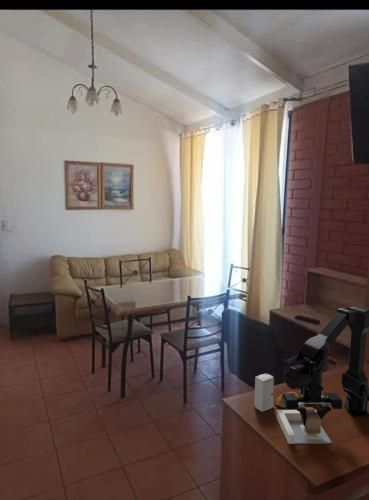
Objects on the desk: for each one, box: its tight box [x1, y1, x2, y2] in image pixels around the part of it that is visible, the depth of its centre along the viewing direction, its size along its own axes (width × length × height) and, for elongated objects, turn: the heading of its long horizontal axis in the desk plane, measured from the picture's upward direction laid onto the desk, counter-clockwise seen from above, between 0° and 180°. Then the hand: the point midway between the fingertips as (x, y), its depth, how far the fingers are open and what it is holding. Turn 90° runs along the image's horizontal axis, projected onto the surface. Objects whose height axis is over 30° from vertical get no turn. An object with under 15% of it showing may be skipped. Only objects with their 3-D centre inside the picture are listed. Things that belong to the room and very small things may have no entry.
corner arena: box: [276, 409, 333, 445], centre depth 121 cm, size 14×14×3 cm
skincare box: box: [254, 373, 275, 413], centre depth 134 cm, size 6×4×12 cm
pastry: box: [274, 391, 299, 408], centre depth 137 cm, size 9×7×4 cm
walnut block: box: [301, 406, 322, 434], centre depth 119 cm, size 7×4×5 cm, turn 1°
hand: (310, 424), depth 119 cm, fingers closed on walnut block, 4 cm apart
